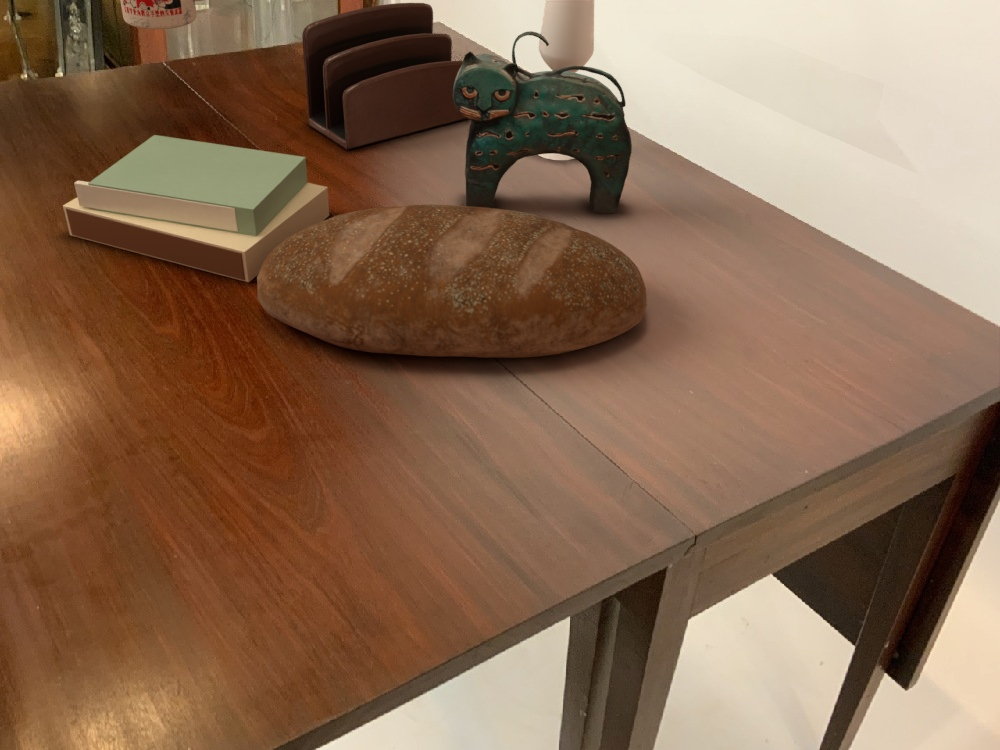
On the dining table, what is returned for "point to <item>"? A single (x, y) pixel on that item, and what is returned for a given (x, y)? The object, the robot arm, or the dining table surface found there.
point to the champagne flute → (567, 39)
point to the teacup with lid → (158, 13)
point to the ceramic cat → (540, 124)
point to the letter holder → (378, 74)
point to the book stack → (198, 204)
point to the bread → (452, 283)
